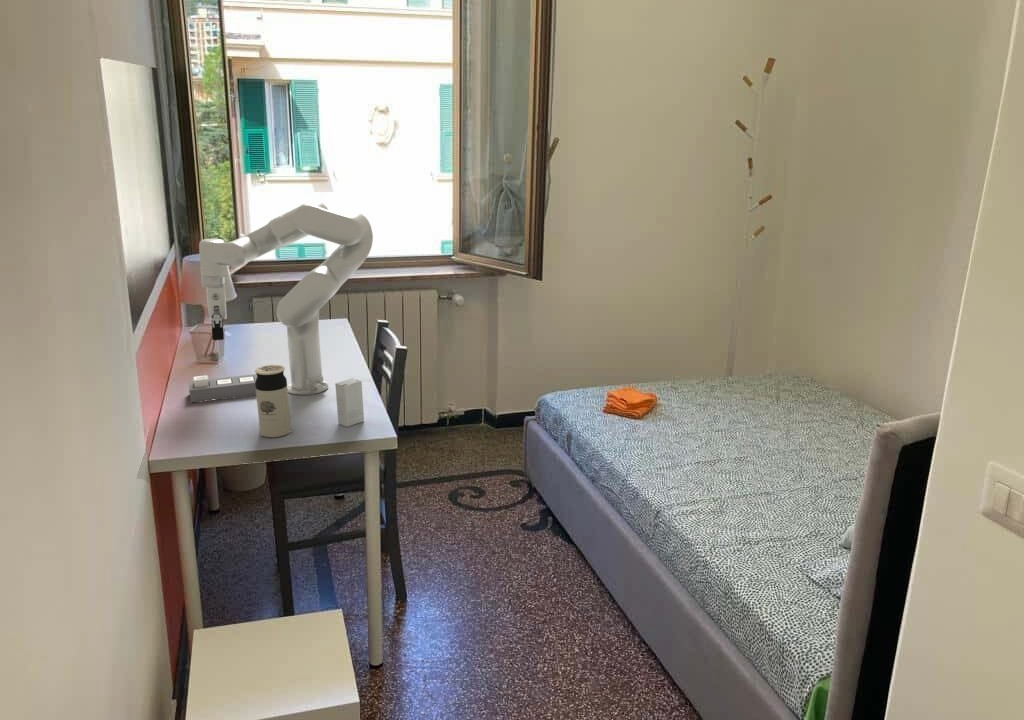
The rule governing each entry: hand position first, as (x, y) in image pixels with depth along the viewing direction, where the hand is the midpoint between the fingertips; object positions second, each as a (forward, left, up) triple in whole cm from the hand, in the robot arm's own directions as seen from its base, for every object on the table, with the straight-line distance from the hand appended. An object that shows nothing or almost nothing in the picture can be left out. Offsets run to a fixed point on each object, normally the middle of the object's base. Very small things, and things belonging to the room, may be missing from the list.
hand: (217, 335), depth 238 cm
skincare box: (-53, -10, -18) cm, 57 cm away
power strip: (-5, +2, -17) cm, 18 cm away
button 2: (-8, -4, -16) cm, 18 cm away
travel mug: (-44, +8, -18) cm, 48 cm away
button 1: (-2, +8, -14) cm, 16 cm away
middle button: (-5, +2, -16) cm, 17 cm away
